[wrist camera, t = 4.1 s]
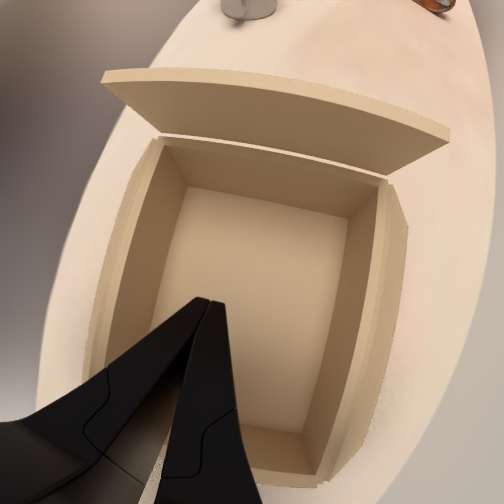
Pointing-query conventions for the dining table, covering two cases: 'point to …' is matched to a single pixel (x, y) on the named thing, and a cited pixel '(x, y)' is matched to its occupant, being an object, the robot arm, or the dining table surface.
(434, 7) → the tin
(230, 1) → the cup
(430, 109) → the dining table surface
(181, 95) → the flap
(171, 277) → the carton
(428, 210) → the dining table surface
